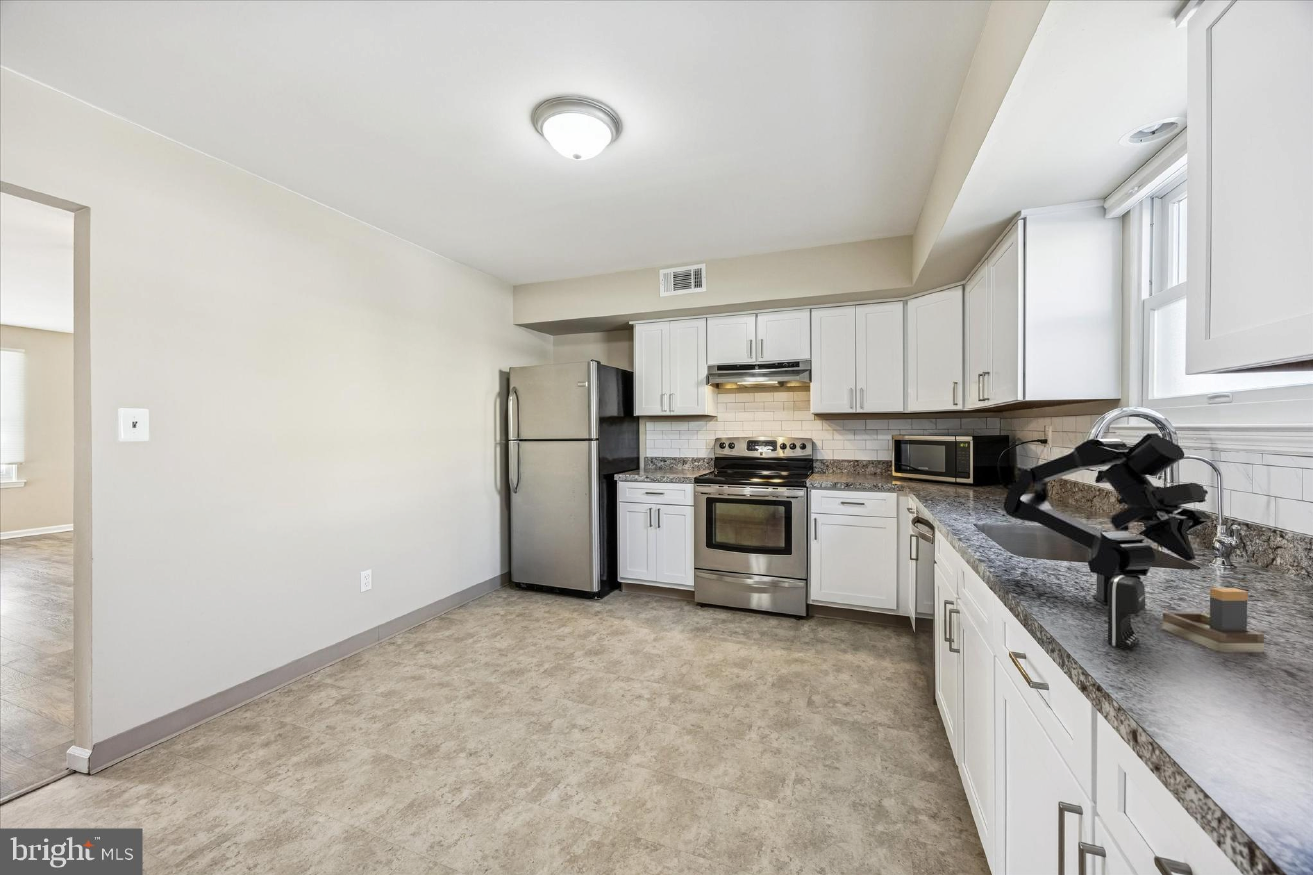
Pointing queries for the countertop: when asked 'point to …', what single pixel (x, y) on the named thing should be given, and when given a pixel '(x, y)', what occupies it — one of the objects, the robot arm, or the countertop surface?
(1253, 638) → the tray
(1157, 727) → the countertop surface
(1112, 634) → the battery charger
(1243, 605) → the fader lever
